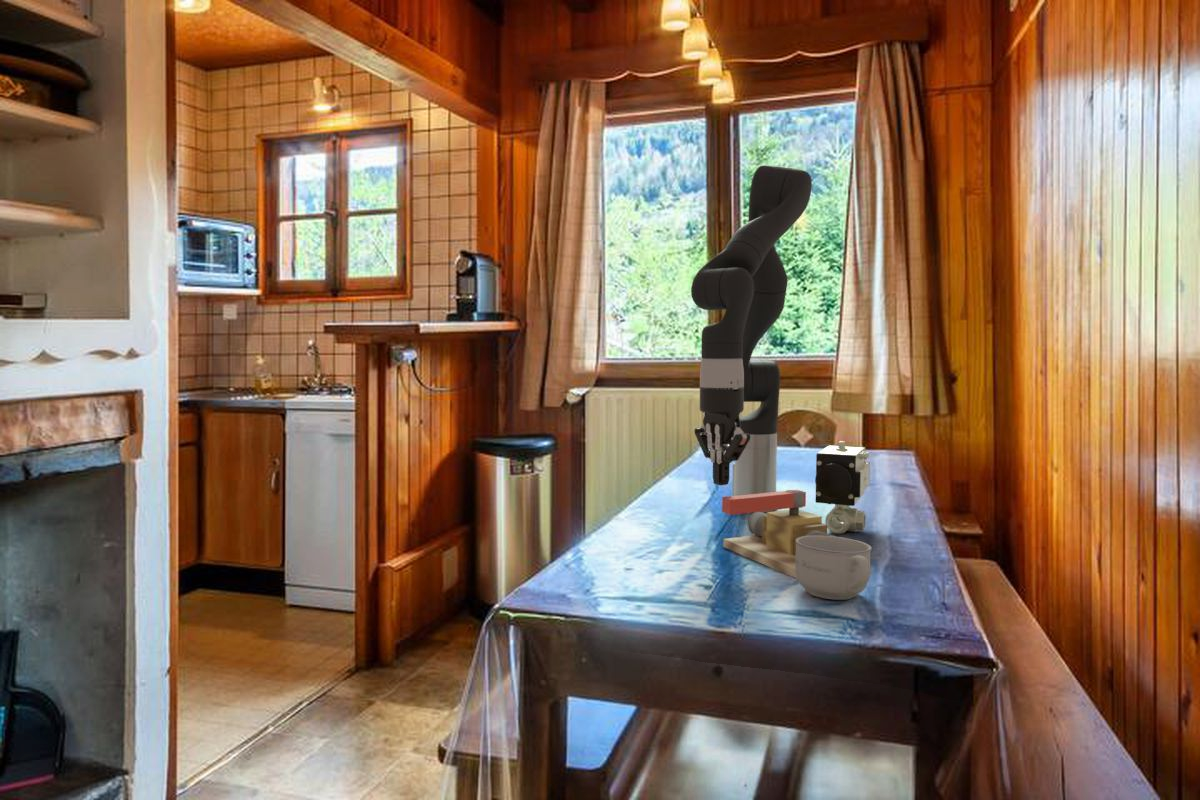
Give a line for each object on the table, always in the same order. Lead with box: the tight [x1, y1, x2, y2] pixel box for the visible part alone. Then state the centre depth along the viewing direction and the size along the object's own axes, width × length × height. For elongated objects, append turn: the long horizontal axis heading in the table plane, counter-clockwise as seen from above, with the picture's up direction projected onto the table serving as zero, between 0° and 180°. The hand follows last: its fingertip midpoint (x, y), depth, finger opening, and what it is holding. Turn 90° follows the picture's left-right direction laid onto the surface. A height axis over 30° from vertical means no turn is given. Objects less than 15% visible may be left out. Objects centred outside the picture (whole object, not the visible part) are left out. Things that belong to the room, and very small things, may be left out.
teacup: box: [795, 535, 873, 601], centre depth 114 cm, size 14×11×8 cm
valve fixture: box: [722, 508, 837, 579], centre depth 136 cm, size 21×15×9 cm
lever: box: [721, 489, 807, 516], centre depth 133 cm, size 16×3×2 cm, turn 114°
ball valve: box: [814, 440, 871, 535], centre depth 154 cm, size 18×8×18 cm, turn 154°
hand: (721, 484), depth 135 cm, fingers closed
